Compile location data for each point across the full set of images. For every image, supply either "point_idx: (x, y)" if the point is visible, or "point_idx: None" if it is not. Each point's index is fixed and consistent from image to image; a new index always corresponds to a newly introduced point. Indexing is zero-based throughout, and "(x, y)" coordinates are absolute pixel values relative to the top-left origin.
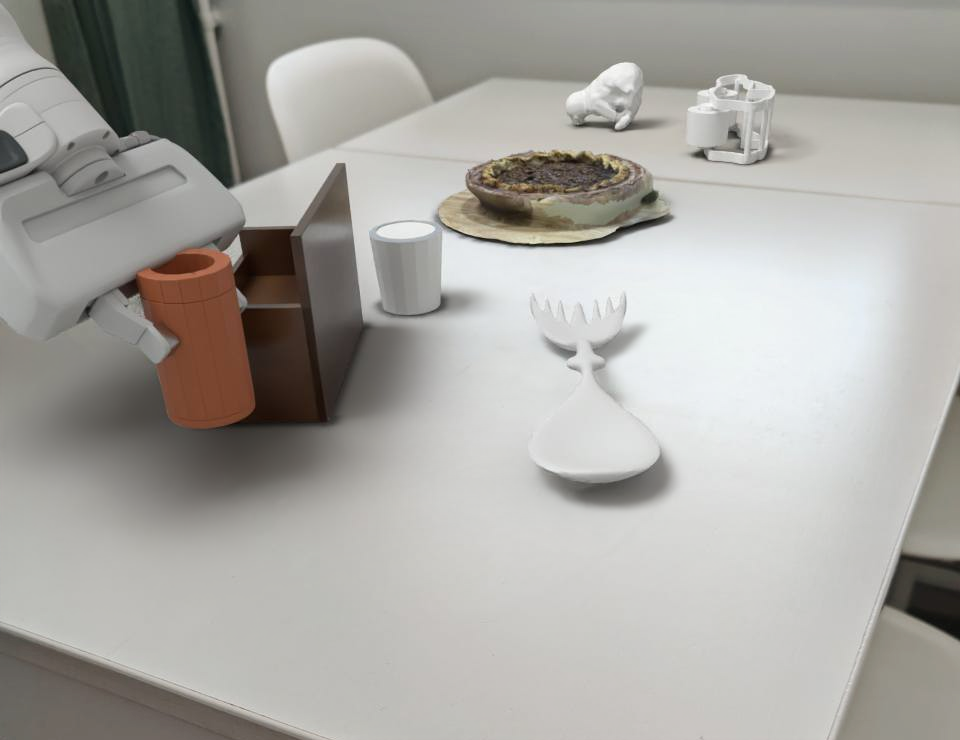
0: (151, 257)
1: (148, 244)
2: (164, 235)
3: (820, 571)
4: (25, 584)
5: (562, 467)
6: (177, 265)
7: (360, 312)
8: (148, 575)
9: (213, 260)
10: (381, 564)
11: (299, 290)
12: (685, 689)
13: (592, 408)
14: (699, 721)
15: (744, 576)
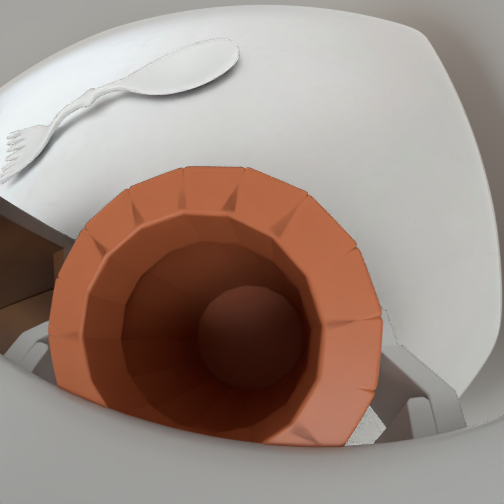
0: (218, 458)
1: (165, 494)
2: (66, 456)
3: (268, 12)
4: (469, 371)
5: (232, 58)
6: (127, 404)
7: None
8: (439, 288)
9: (111, 262)
10: (354, 133)
11: (47, 239)
12: (364, 32)
13: (143, 77)
14: (376, 31)
15: (282, 22)
